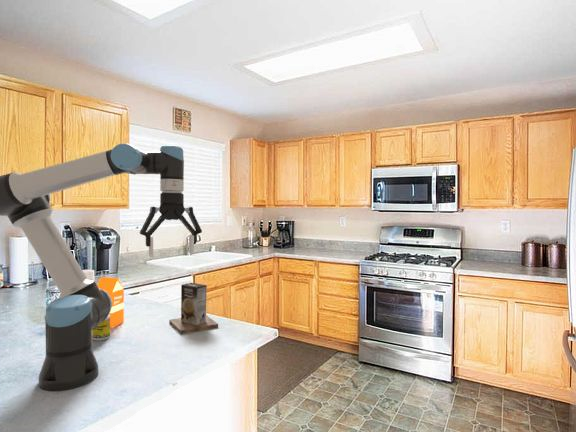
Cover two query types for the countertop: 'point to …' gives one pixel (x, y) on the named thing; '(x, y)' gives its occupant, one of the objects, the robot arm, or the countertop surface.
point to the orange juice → (114, 298)
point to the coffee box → (193, 303)
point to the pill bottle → (102, 330)
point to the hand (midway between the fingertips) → (171, 255)
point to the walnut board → (188, 328)
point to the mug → (89, 274)
